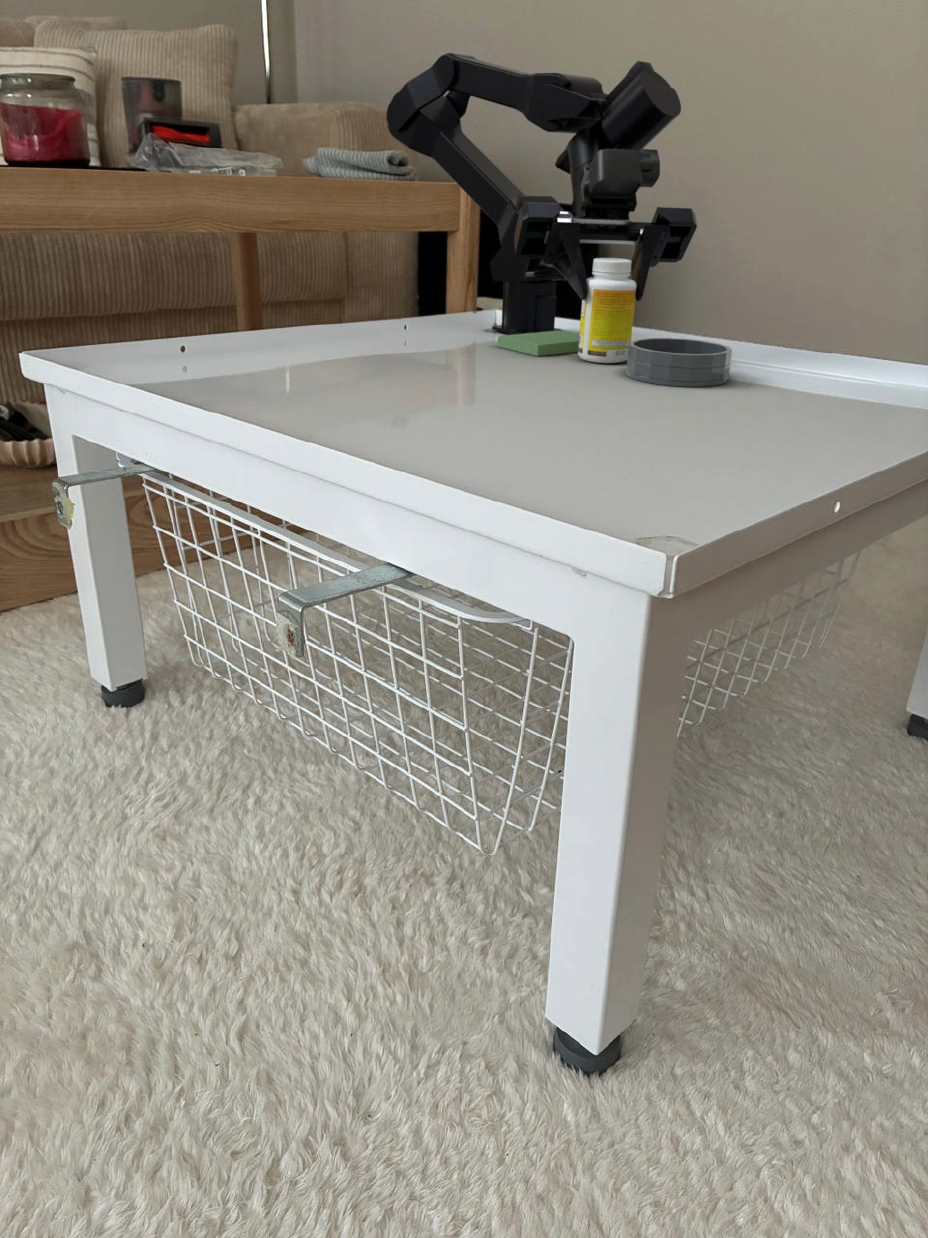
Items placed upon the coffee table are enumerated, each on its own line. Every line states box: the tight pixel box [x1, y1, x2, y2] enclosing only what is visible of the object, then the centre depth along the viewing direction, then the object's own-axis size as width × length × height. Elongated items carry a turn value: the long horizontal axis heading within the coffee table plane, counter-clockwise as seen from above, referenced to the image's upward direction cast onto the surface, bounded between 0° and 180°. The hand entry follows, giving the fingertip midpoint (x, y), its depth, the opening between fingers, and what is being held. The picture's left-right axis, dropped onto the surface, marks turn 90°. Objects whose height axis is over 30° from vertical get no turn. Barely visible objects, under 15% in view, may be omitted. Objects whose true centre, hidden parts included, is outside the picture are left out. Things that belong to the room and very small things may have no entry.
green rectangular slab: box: [497, 329, 580, 357], centre depth 109 cm, size 7×10×1 cm
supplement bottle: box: [577, 257, 637, 364], centre depth 101 cm, size 6×6×10 cm
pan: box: [625, 337, 733, 388], centre depth 95 cm, size 10×10×3 cm
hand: (612, 297), depth 99 cm, fingers closed on supplement bottle, 5 cm apart
